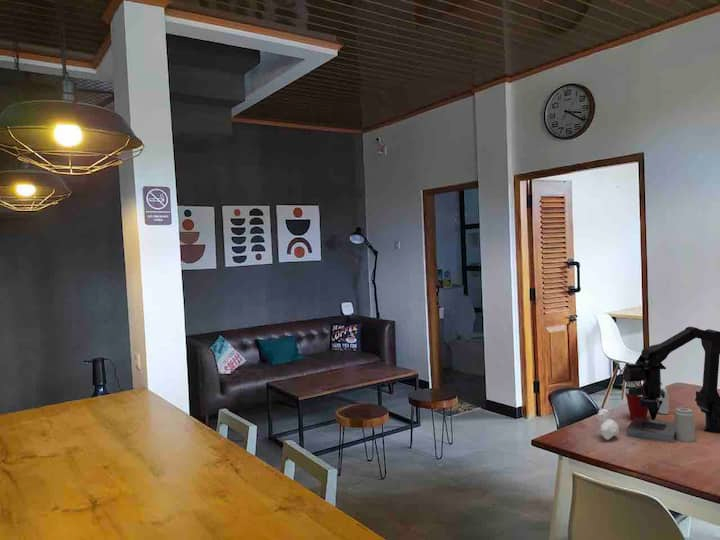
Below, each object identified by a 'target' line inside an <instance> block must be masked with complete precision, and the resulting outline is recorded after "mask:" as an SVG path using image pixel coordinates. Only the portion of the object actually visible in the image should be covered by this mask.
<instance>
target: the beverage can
mask: <svg viewBox="0 0 720 540" xmlns="http://www.w3.org/2000/svg"><path fill="white" fill-rule="evenodd" d="M674 423H675V432H676V439H675V440H677V441H678V442H683V443H692V442H695V441H696V440H695V439H696V433H695V431H696V430H695V427H696V426H695V413H694V412H693V409H691V408H687V407H677V408H675V410H674Z"/></svg>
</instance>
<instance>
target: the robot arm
mask: <svg viewBox="0 0 720 540" xmlns="http://www.w3.org/2000/svg"><path fill="white" fill-rule="evenodd" d="M694 339H699V340H700V343H701V345H702V348H703V350H704V351H703V352H704V362H703V374H702V375H703V376H702V388H701V389H700V390H699V391H697V390H695V399H694V401H695V402H696V406H697V407H698V408H699V409H700V411H701V412H702V413H704V415H705V416H704V417H705V419H704V420H705V425H704V427H703V431H704V432H710V433H715V432H716V434H720V394H719V391H718V384H719V383H718V382H719V369H720V367H719V366H720V331H718V330H714V329H710V328H709V329H700V328H698V327H695V326H687V327H685V329H683V330H681V331H679V332H678V333H677V334H674V335H673V336H671V337H669V338H668V339H665V341H662V342H660V343H657V344H653V345H650V346H646V347H645V348H643V349H642V350H641V353H640V355H639V357H638V358H637V359H636V361H635V363H625V367H624V368H623V371H622V376H623V378H624V380H625V381H626V383H627V382H629V383H630V382H643V383H642V384H640V385H636V386H631V387H629V388H627V389H628V391H629V393H628V394H630V396H631V397H635V396H639V395H642V396H643V398H642V399H641V400H640V406H642V407H648V412H649V415H650V418H651V420H656V419H657V415H658V414H659V412H658V411H659V409H660V407H661V404H662V402H663V401H660V400H659V399H658V398H660V397H661V396H662V398H665V392H664V391H663V390H661V385H663V382H661V379H662V378H661V370H666V369H667V367H666V366H665V365H663V363H662V362H664V361H665V360H666V359H667V358H668V356H669V355H670V354H671V353H673V352H674V351H675V350H677V349H679V348H681V347H682V346H684V345H686V344H687V343H689V342H691V341H693V340H694Z"/></svg>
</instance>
